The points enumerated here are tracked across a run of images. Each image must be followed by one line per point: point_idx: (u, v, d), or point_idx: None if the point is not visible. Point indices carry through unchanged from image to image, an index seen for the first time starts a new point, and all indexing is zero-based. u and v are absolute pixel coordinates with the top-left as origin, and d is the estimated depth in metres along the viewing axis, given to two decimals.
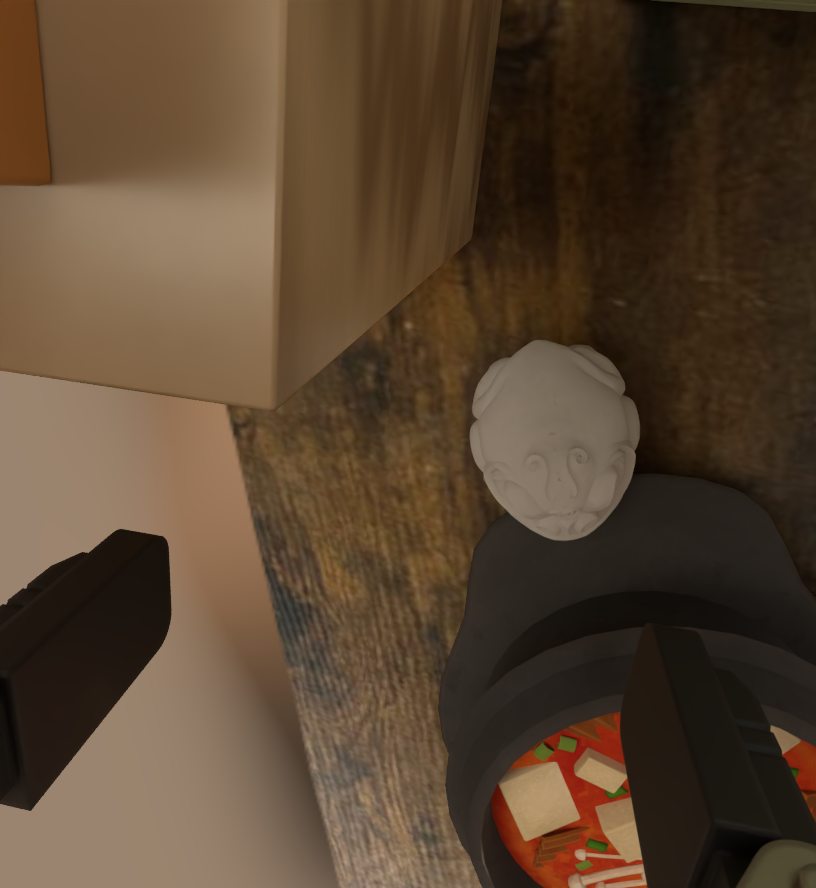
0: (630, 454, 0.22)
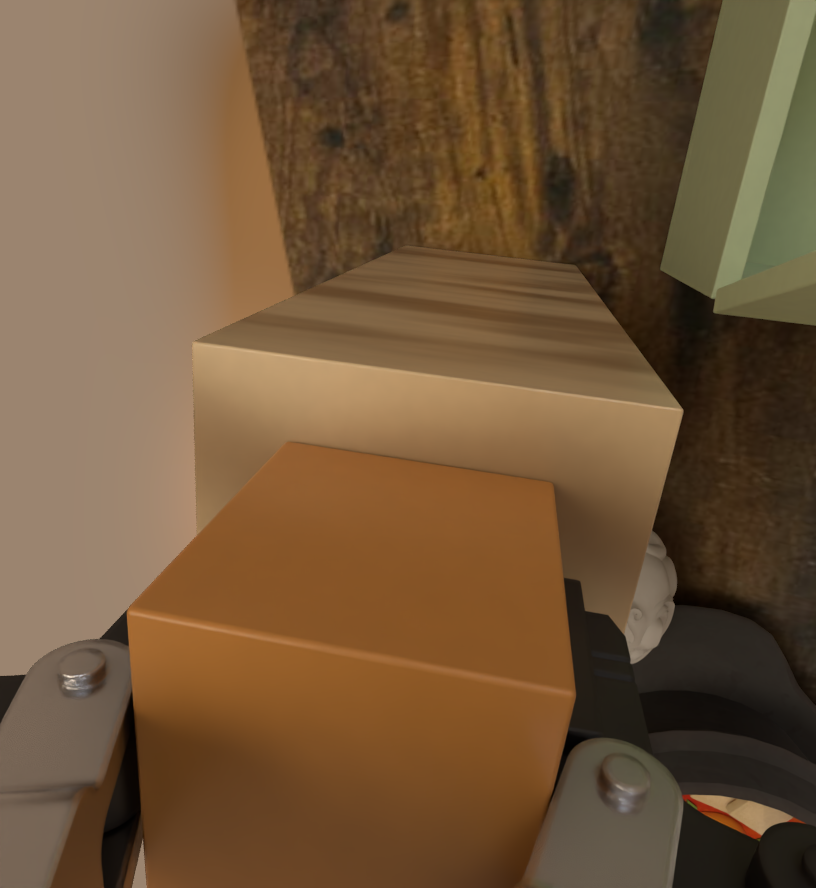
0: (671, 605, 0.30)
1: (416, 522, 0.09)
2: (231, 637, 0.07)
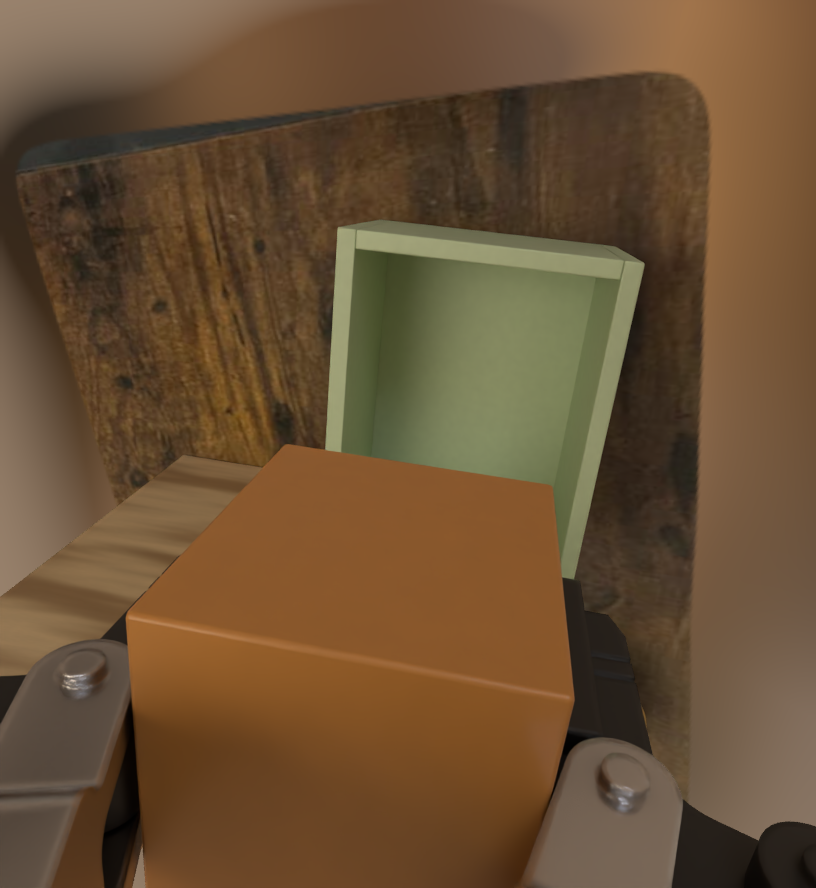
0: None
1: (416, 525, 0.09)
2: (229, 642, 0.07)
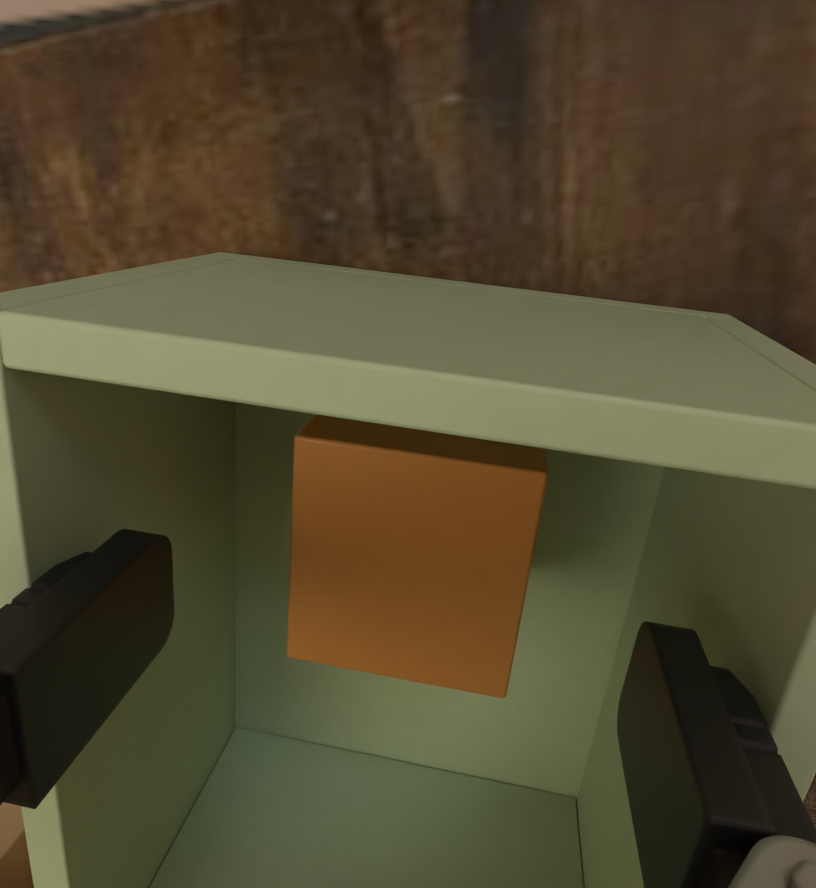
0: None
1: None
2: (355, 450, 0.12)
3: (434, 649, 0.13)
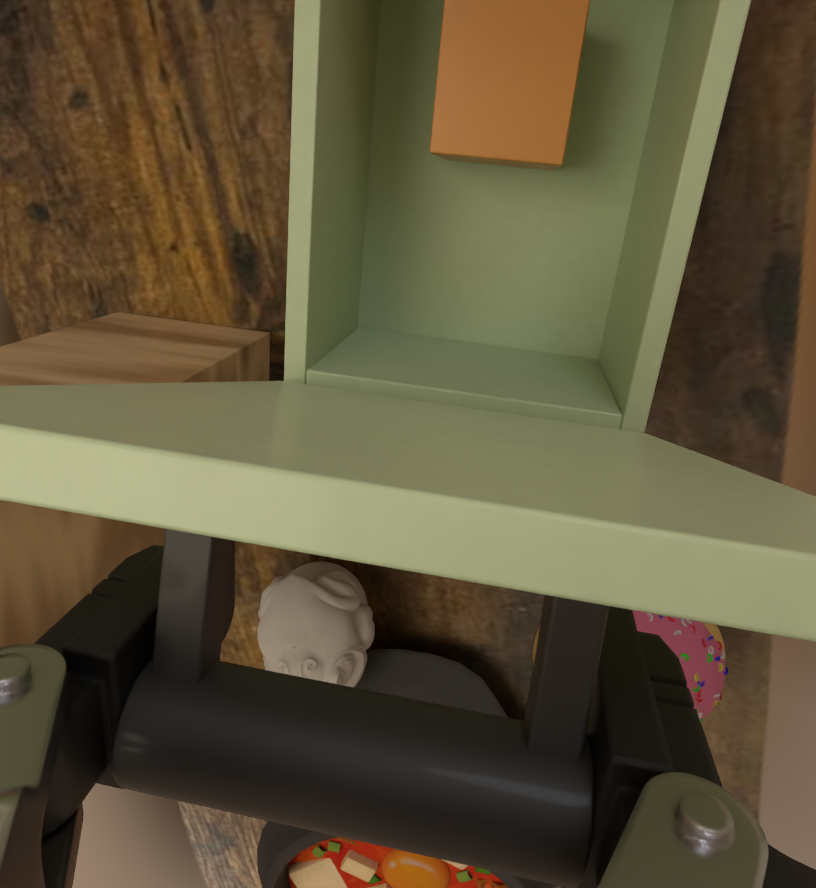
0: (357, 654, 0.32)
1: None
2: None
3: (521, 131, 0.22)
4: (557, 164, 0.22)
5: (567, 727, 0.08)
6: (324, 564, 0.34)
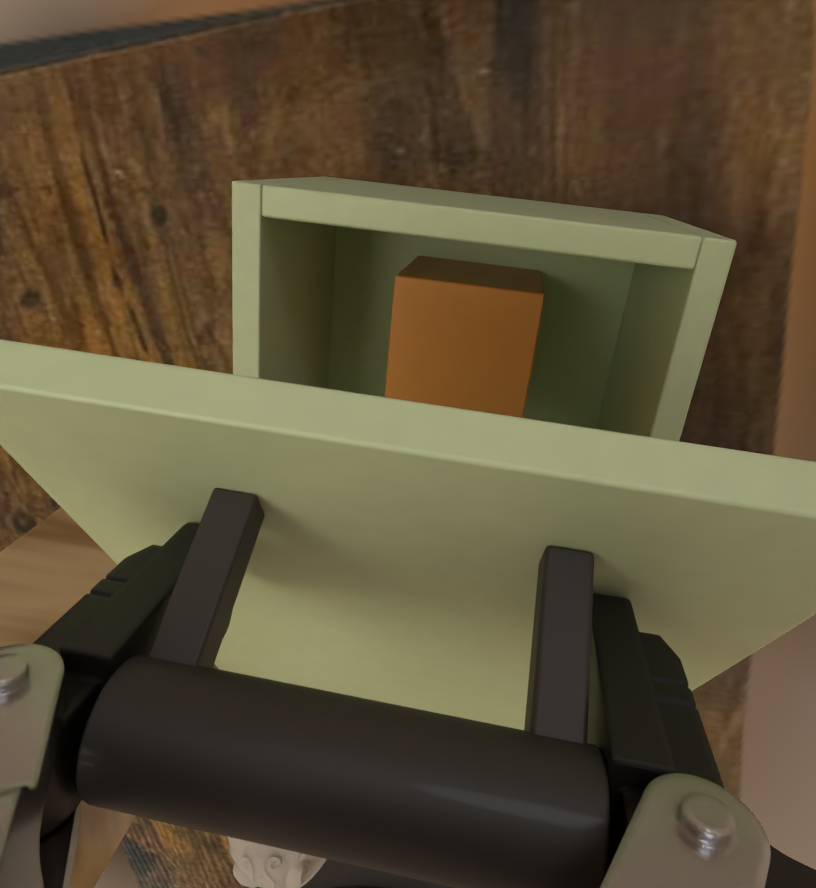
0: None
1: (484, 272, 0.22)
2: (431, 283, 0.20)
3: None
4: None
5: (569, 707, 0.08)
6: None
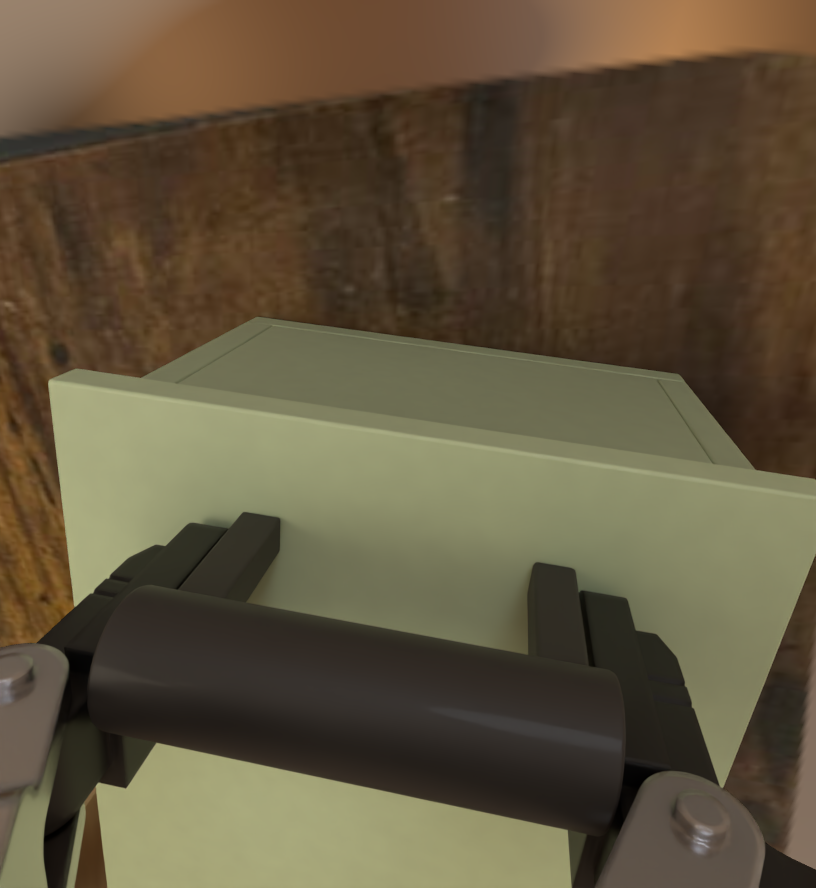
0: None
1: None
2: None
3: None
4: None
5: (570, 651, 0.09)
6: None
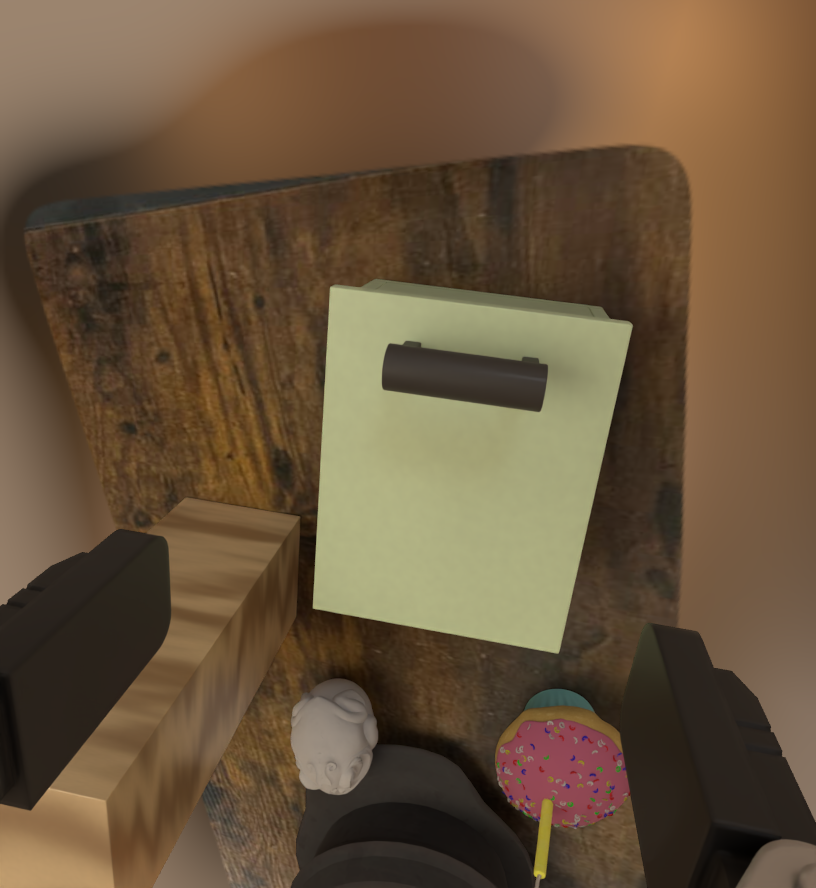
0: (365, 756, 0.43)
1: None
2: None
3: None
4: None
5: None
6: (340, 683, 0.45)
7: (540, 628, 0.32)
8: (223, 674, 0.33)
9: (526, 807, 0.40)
